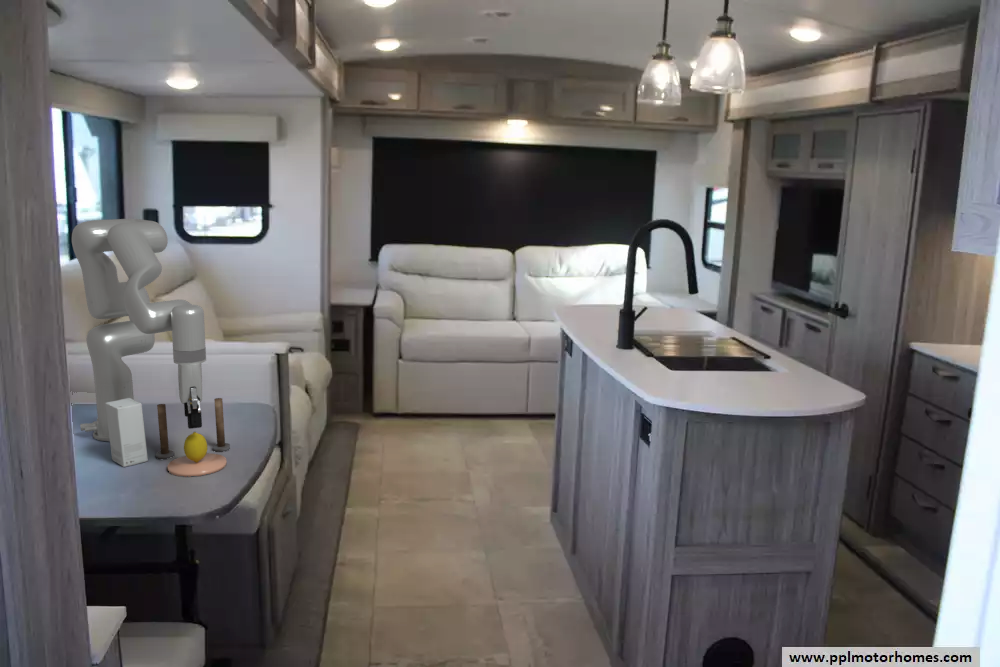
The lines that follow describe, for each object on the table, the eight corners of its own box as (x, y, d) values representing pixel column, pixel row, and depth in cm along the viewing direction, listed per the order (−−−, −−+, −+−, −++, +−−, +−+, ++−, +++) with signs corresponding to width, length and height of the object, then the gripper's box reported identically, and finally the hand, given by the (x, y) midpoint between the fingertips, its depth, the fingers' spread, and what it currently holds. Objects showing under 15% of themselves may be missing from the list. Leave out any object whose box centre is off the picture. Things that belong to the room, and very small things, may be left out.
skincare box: (148, 462, 210) (143, 403, 207) (121, 468, 206) (116, 408, 203) (135, 453, 216) (130, 396, 213) (109, 459, 212) (104, 401, 208)
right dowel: (213, 453, 217) (210, 402, 214) (211, 447, 221) (208, 397, 218) (231, 450, 219) (228, 400, 216) (228, 445, 223) (226, 396, 220)
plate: (169, 480, 198) (169, 476, 198) (166, 461, 211) (165, 457, 210) (230, 471, 204) (229, 468, 204) (223, 454, 216) (223, 450, 216)
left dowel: (156, 460, 211) (152, 408, 208) (155, 455, 215) (151, 403, 212) (174, 458, 213) (171, 406, 210) (173, 452, 217) (169, 401, 214)
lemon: (180, 464, 206) (177, 433, 205) (197, 457, 211) (195, 427, 209) (196, 467, 204) (193, 437, 202) (213, 460, 208) (211, 430, 207)
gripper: (171, 348, 208) (174, 413, 211) (175, 365, 192) (179, 434, 196) (202, 346, 211) (205, 410, 214) (209, 362, 195) (212, 430, 199)
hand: (193, 421), depth 205 cm, fingers open, 9 cm apart
